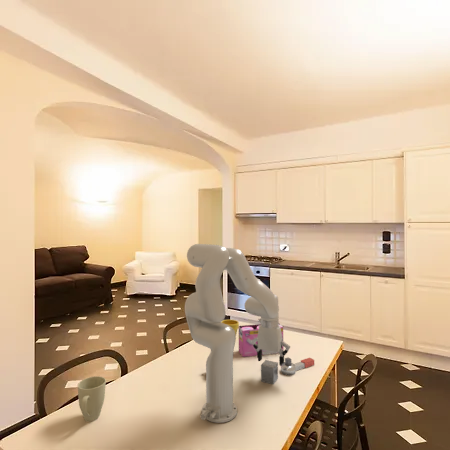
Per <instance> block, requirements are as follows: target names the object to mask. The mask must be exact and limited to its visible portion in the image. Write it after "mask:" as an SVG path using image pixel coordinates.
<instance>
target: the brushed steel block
mask: <svg viewBox="0 0 450 450" xmlns="http://www.w3.org/2000/svg"><path fill="white" fill-rule="evenodd" d="M278 365H279V362H277V361H273V360H268V359H265V360H264V361H263V362H262V363H261V365H260V381H261V382H262V383H266V384H270V385H275V383H276V382H277V381H278V379H279V366H278Z"/></svg>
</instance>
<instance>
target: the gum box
mask: <svg viewBox="0 0 450 450" xmlns="http://www.w3.org/2000/svg"><path fill="white" fill-rule="evenodd" d="M259 325H261V323H257V324H248V325H247V324H246V325H239V328H238V352H239V354H240V355H241V357H243V358H245V357H255V356H256V357H257V351H256V349H255V348H254V347H253V344H252V342H251V340H252V339H255V338H257V337H258V330H259ZM279 326H280V328H281V333H282V341H284V326H283V325H281V324H280V323H279ZM257 342H258V341H256V344H257ZM282 349H283V350H285V347H284V346H282ZM272 354H273V355H274V354H279V353H278V352H271V351H266V350H262V356H263V355H265V356H266V355H272Z"/></svg>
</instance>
